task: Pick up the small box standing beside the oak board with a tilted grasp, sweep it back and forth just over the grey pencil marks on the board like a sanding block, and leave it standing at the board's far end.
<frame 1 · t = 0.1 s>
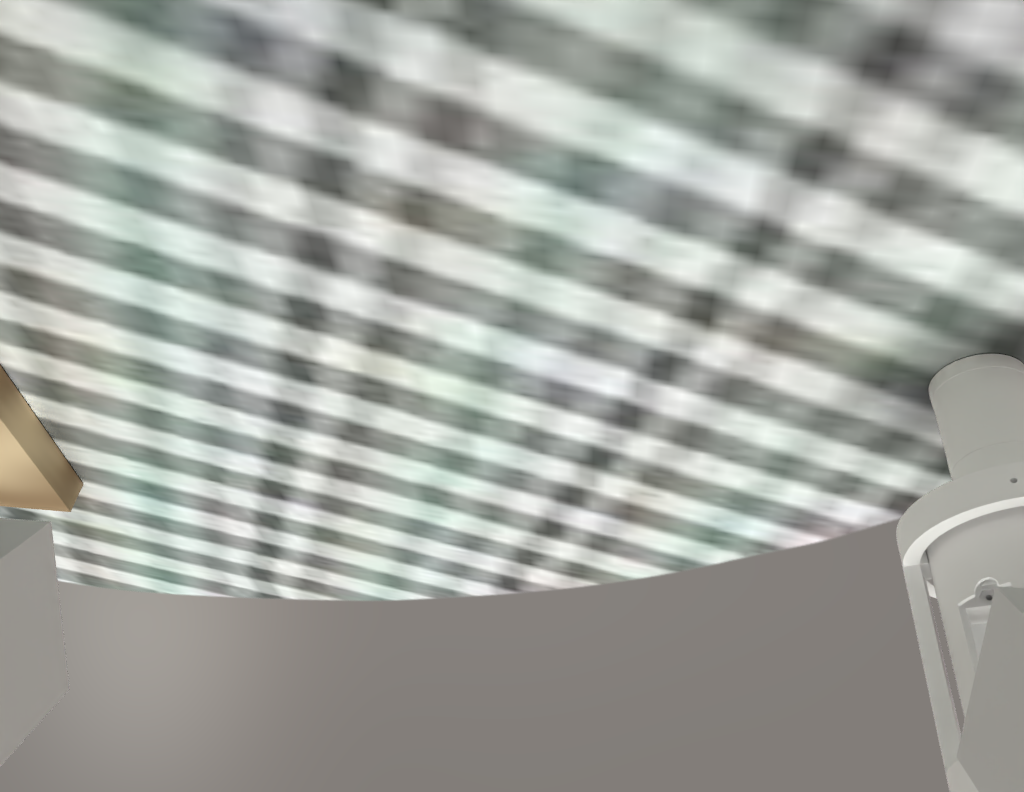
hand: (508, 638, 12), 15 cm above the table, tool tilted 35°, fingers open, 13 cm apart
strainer: (975, 378, 30), on the table
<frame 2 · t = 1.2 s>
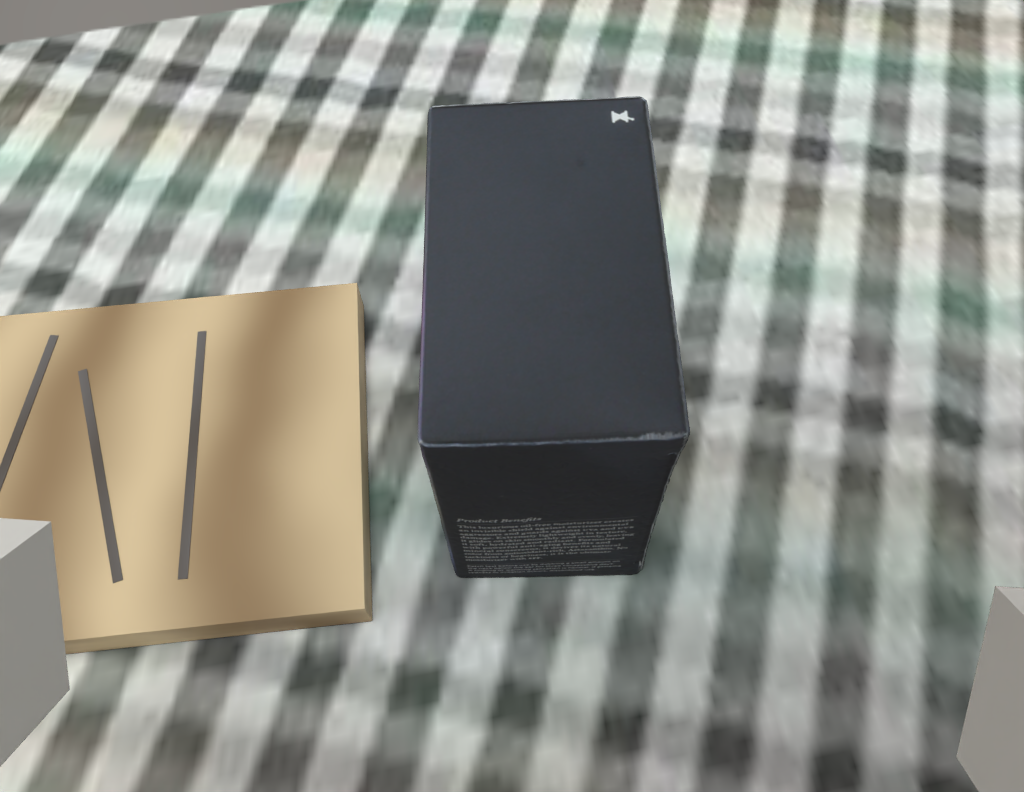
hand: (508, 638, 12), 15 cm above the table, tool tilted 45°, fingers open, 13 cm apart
oak board: (90, 476, 30), on the table
small box: (539, 435, 31), on the table
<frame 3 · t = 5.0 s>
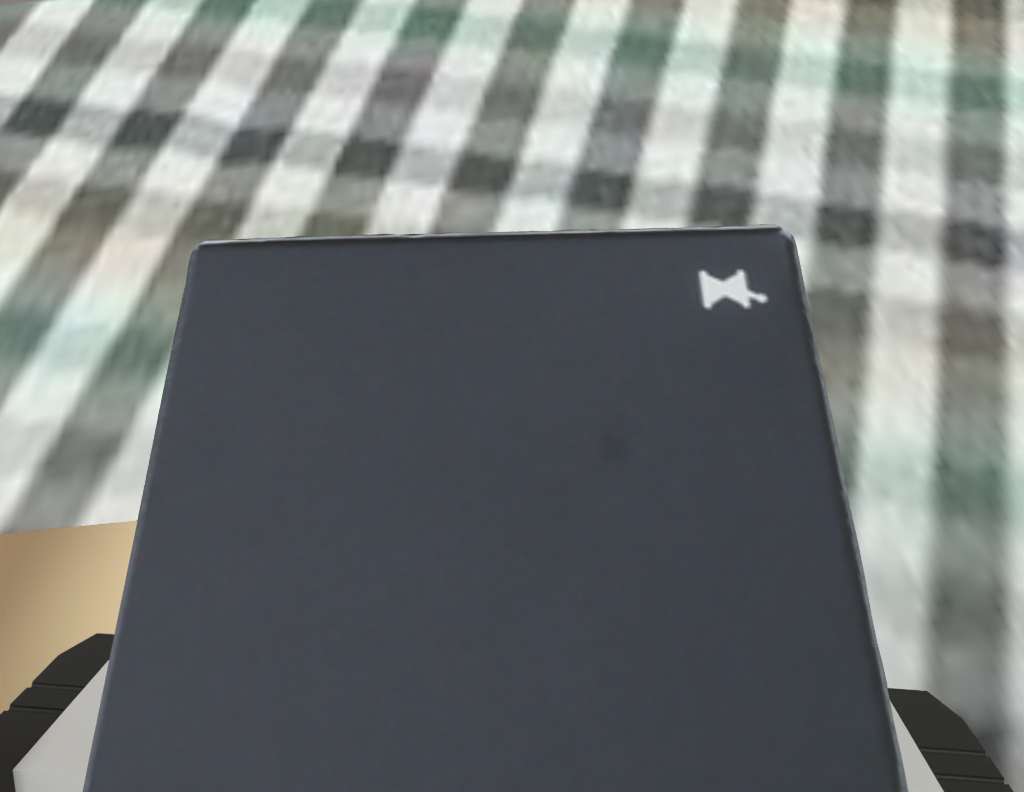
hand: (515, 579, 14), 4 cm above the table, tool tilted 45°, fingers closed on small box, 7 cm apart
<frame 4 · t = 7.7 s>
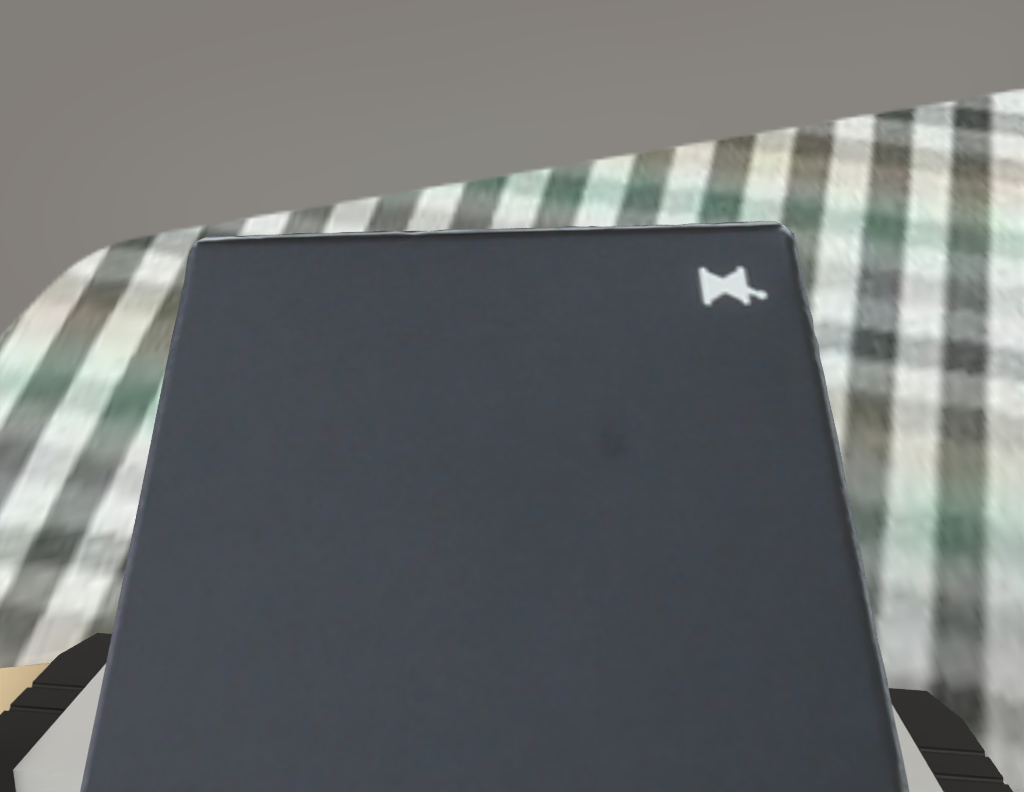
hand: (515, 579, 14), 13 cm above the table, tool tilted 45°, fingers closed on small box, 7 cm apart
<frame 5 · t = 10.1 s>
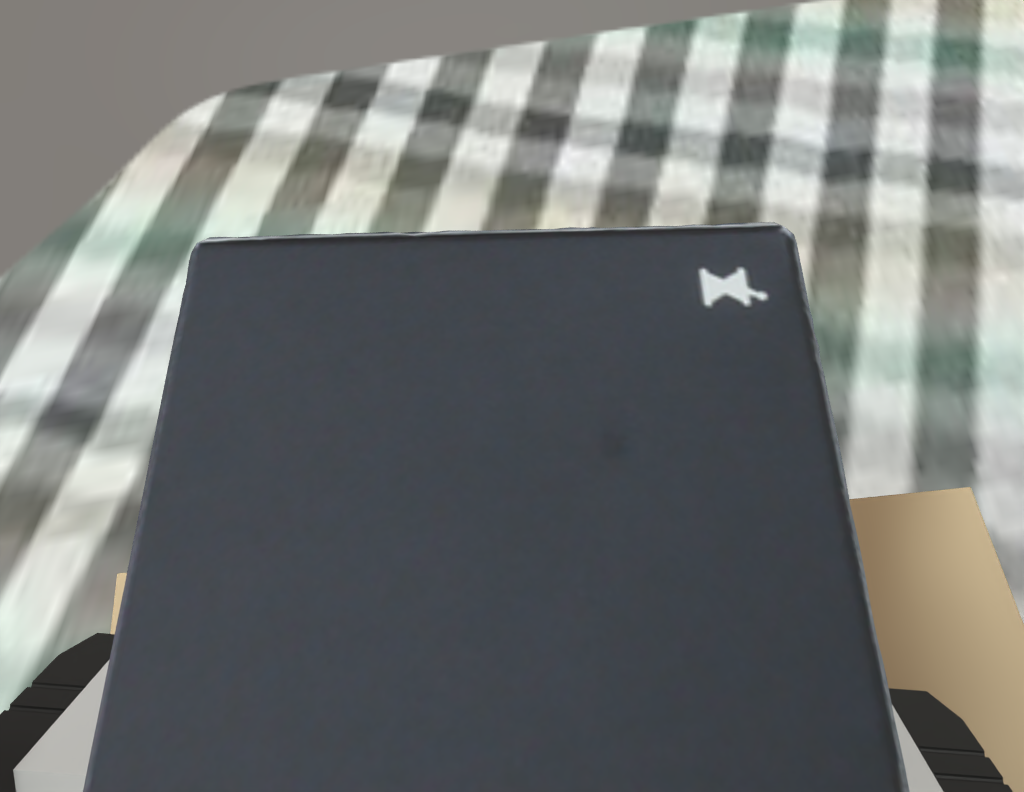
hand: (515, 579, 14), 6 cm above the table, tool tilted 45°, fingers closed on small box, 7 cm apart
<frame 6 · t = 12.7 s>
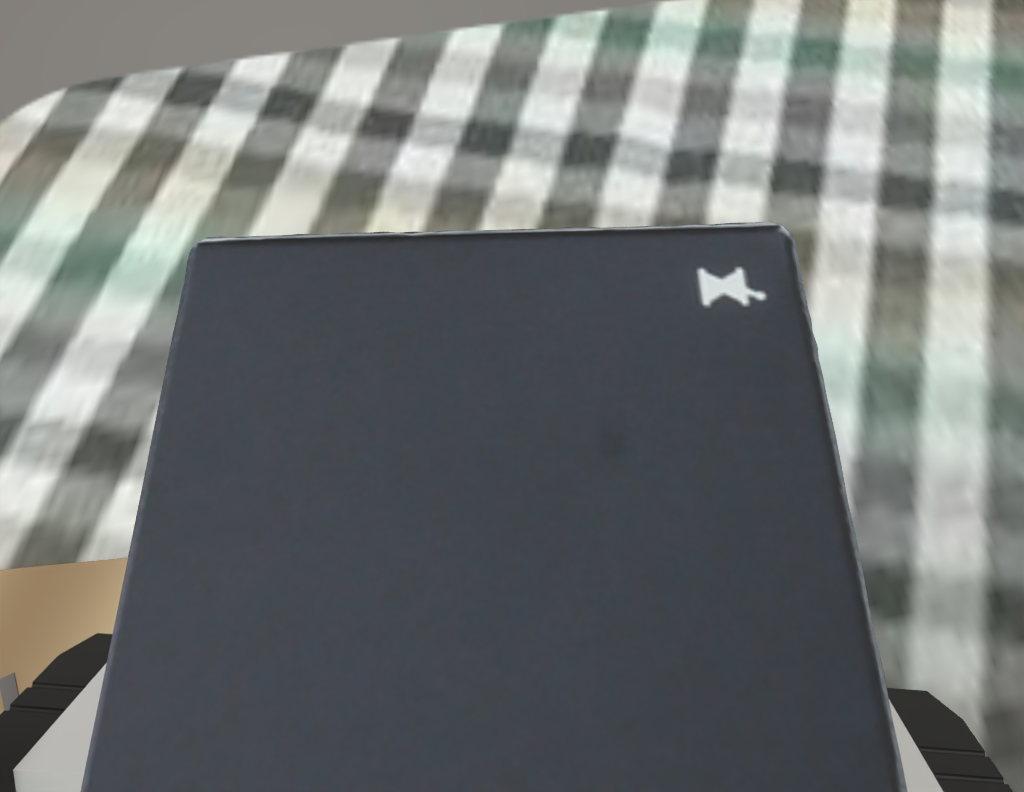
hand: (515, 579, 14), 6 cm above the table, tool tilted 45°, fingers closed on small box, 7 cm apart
when the fingers open (6 cm above the table, at t = 15.2 s): small box stays where it is, resting on oak board.
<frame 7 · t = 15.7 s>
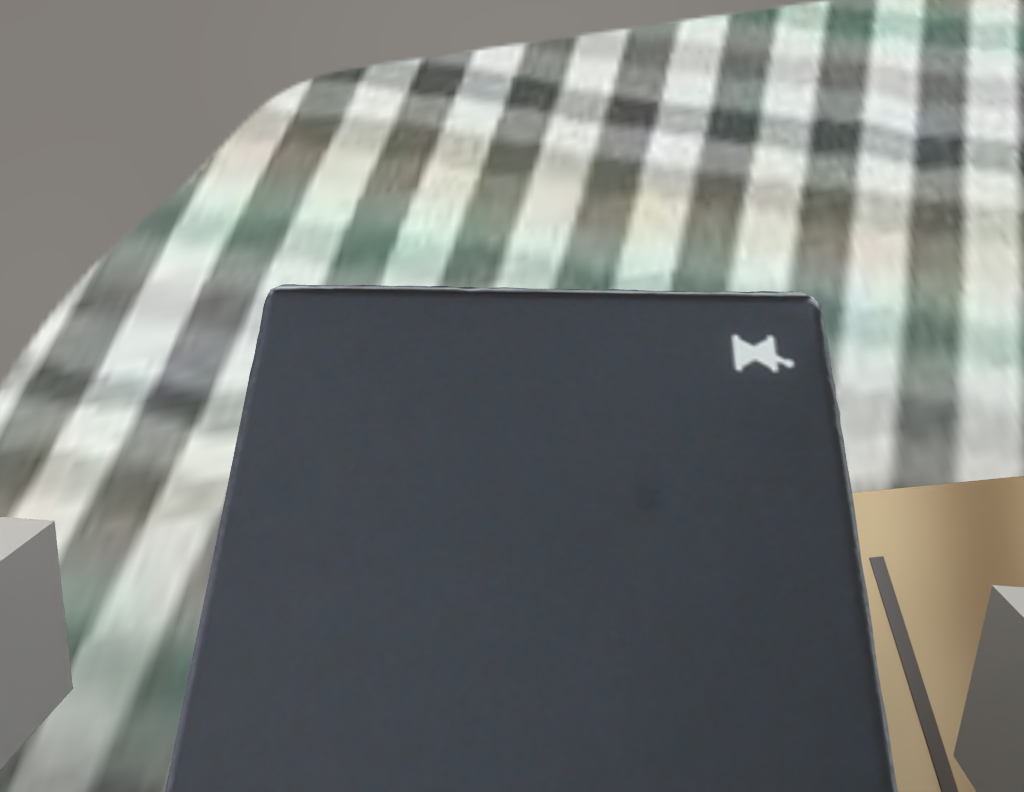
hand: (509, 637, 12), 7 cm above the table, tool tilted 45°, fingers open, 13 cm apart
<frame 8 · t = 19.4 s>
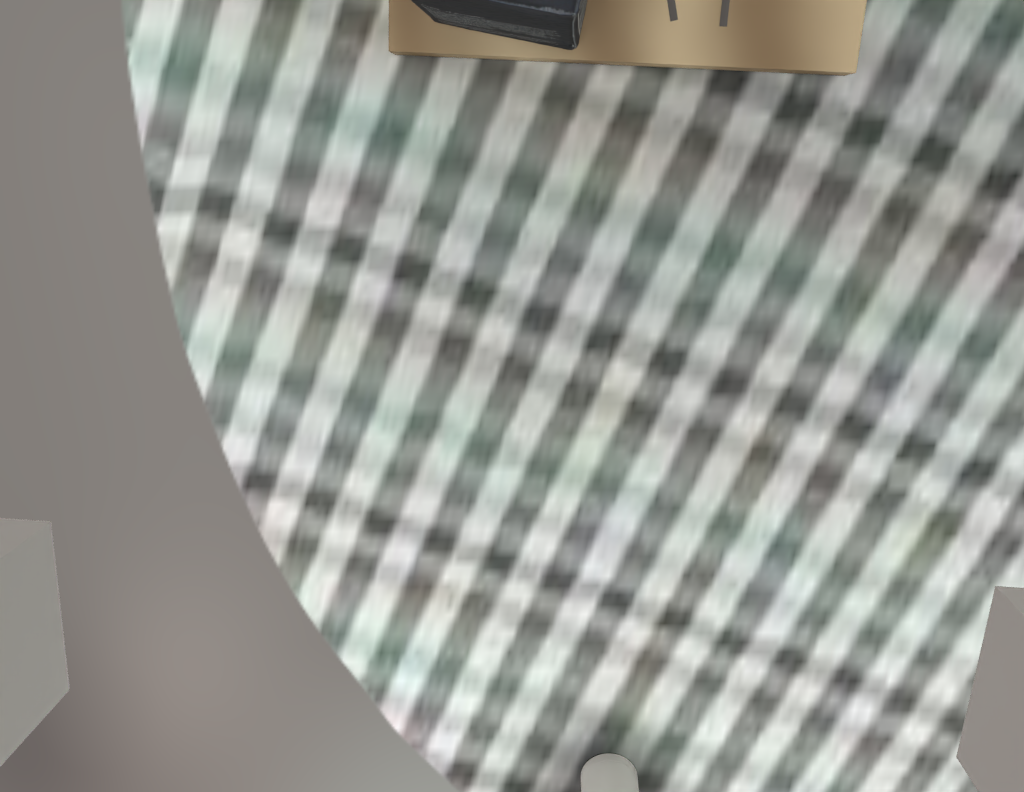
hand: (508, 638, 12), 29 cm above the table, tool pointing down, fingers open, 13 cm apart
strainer: (608, 774, 47), on the table
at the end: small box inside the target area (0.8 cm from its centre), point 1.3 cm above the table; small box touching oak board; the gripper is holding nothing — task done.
